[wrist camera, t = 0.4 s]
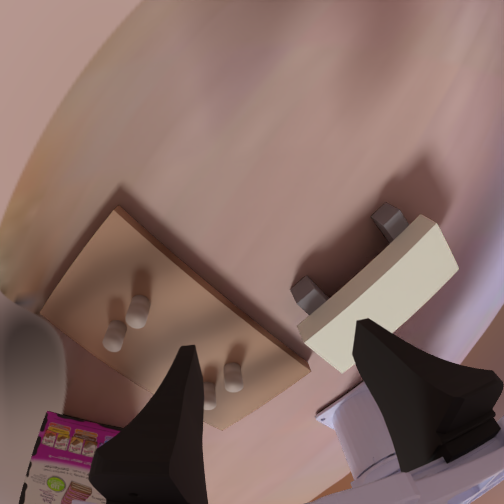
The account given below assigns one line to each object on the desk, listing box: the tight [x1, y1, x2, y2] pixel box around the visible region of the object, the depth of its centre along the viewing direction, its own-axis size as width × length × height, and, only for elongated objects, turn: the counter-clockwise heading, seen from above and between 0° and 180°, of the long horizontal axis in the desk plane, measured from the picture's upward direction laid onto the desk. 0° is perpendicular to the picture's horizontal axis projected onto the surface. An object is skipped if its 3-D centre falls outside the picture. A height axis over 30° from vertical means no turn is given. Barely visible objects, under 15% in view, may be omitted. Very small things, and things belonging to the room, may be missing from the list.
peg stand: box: [40, 205, 311, 431], centre depth 23 cm, size 20×11×3 cm, turn 43°
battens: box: [290, 203, 409, 315], centre depth 23 cm, size 8×10×2 cm
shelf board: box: [297, 214, 459, 373], centre depth 21 cm, size 12×5×2 cm, turn 133°
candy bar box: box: [19, 411, 123, 504], centre depth 21 cm, size 11×5×16 cm, turn 77°
